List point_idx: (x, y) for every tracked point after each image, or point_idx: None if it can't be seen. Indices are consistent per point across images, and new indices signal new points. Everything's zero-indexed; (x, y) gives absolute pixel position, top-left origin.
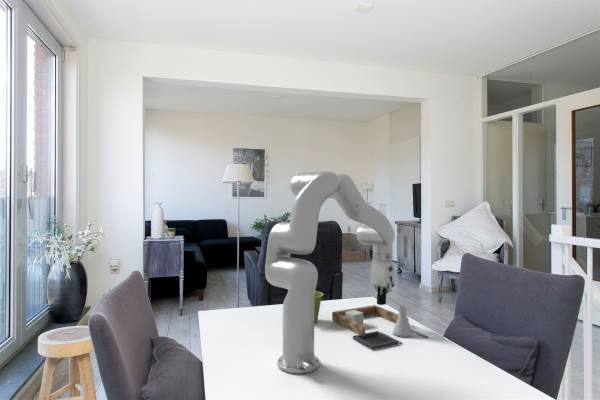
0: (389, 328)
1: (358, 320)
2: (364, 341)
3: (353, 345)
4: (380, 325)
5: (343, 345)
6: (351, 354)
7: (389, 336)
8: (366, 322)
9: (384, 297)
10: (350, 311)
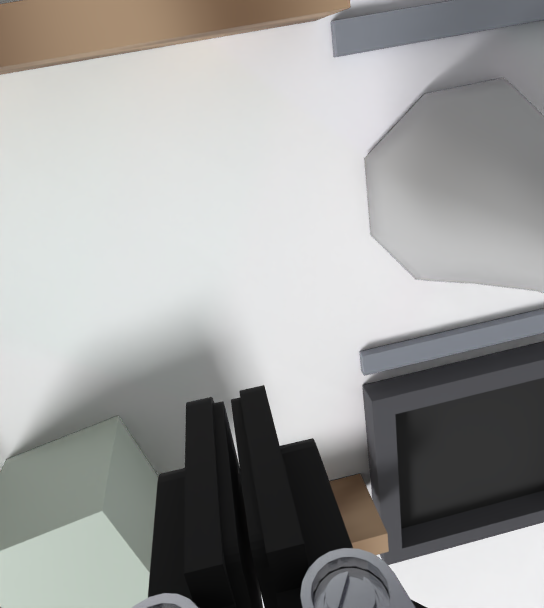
0: (270, 224)
1: (145, 504)
2: (495, 530)
3: (455, 558)
4: (160, 270)
5: (431, 597)
6: (539, 584)
7: (467, 335)
8: (37, 364)
9: (339, 534)
10: (24, 606)
